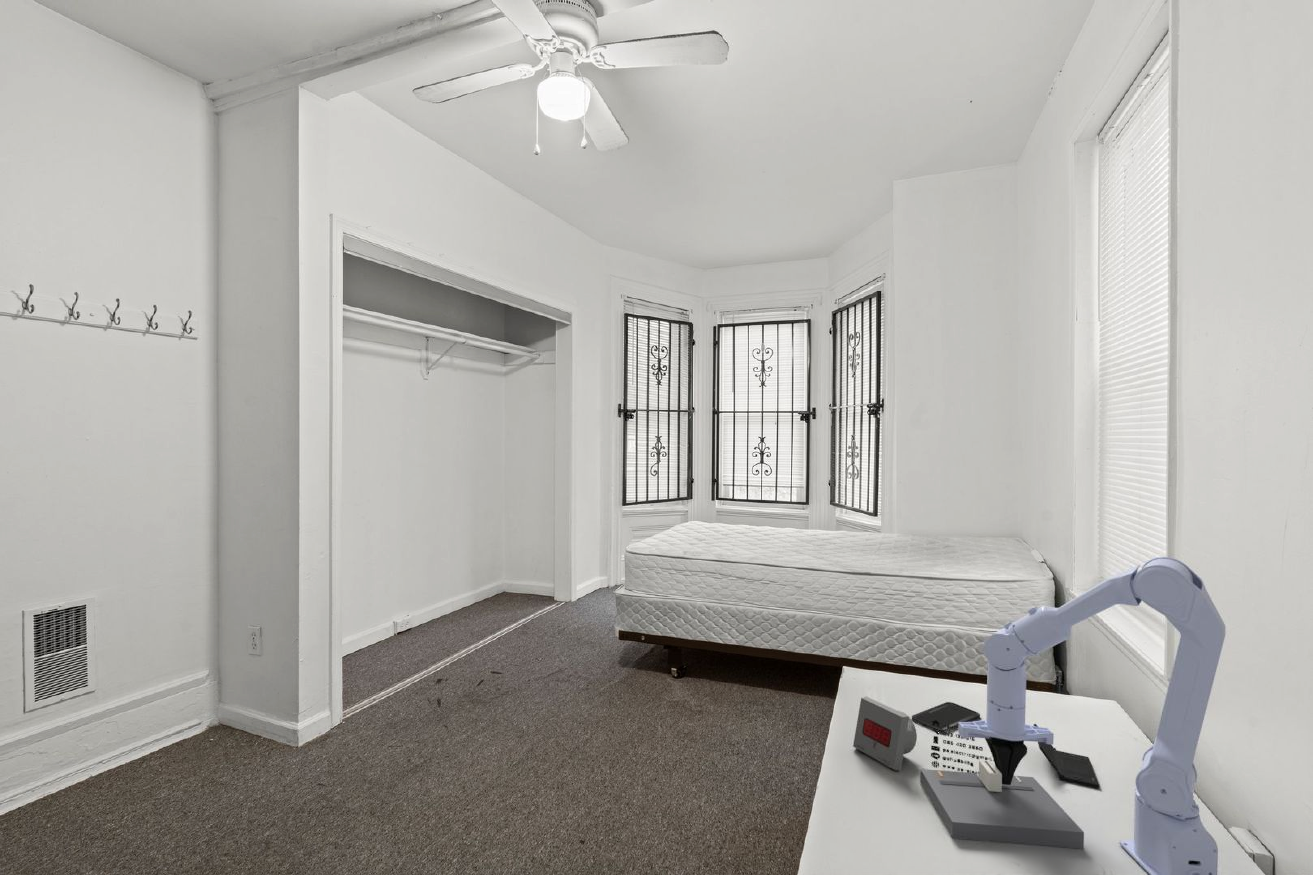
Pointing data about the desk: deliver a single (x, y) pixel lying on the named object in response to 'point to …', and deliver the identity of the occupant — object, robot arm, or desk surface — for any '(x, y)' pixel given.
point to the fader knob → (990, 776)
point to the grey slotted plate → (999, 810)
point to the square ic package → (945, 716)
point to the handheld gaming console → (1070, 766)
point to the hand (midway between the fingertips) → (1004, 781)
